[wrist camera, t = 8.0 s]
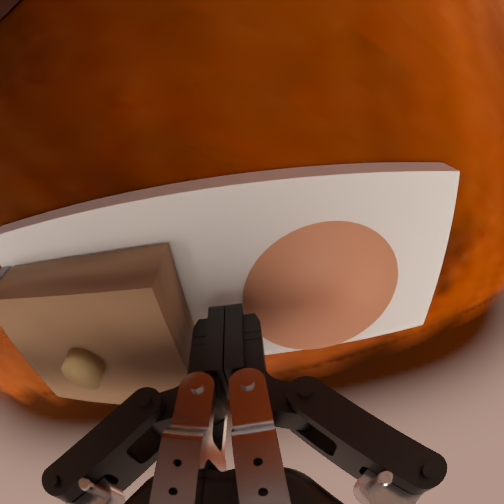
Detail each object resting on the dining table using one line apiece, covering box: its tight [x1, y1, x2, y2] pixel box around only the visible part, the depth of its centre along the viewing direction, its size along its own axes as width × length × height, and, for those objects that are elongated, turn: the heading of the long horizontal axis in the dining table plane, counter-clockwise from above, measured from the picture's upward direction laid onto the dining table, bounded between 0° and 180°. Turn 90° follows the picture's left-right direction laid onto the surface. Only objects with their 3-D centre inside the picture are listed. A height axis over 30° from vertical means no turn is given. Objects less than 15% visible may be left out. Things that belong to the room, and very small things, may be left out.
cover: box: [0, 243, 194, 404], centre depth 12 cm, size 8×10×4 cm
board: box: [0, 162, 460, 355], centre depth 13 cm, size 10×25×4 cm, turn 97°
